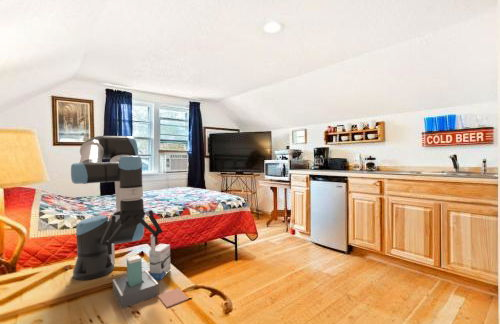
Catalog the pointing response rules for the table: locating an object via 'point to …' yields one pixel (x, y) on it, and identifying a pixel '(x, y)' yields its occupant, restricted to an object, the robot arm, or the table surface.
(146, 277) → the grey socket base
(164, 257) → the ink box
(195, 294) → the table surface
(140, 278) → the teal tall block
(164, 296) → the mat
